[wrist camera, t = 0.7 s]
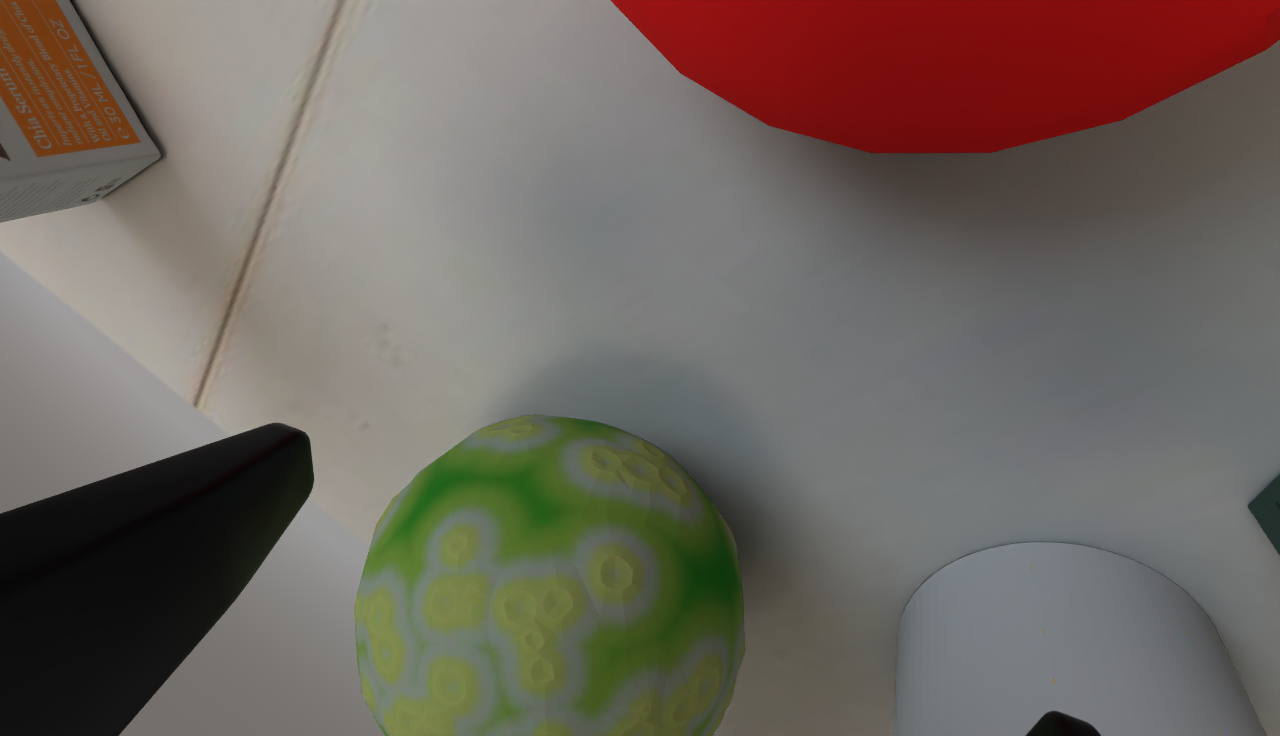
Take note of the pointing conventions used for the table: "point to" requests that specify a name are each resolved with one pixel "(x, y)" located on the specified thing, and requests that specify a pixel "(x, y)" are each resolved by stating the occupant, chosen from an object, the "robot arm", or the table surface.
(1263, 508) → the bin
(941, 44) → the flat cone with hole
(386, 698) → the decorative ball
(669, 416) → the table surface
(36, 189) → the cosmetic box
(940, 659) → the white cylinder block
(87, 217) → the table surface
